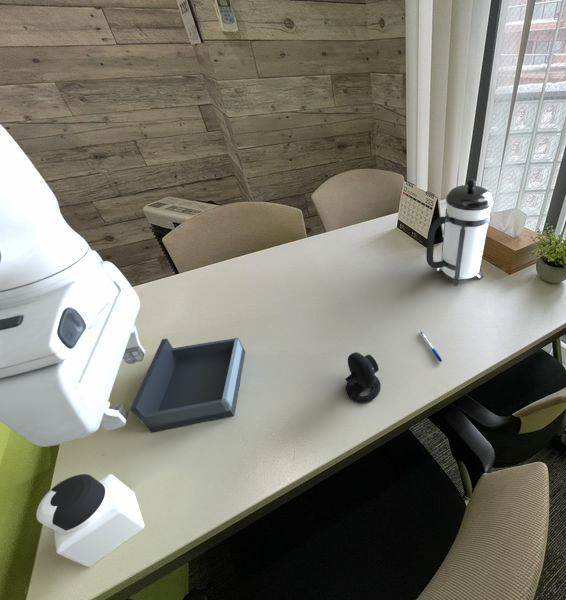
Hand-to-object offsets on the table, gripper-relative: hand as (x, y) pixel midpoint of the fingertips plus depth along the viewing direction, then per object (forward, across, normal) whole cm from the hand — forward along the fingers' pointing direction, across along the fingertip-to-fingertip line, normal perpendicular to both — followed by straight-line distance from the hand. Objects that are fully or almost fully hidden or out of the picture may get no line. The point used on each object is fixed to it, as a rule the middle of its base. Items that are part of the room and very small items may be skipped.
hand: (128, 387), depth 37 cm
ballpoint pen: (+27, -15, +48) cm, 57 cm away
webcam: (+28, -9, +29) cm, 41 cm away
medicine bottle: (+27, 0, -14) cm, 31 cm away
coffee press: (+28, -40, +70) cm, 85 cm away
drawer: (+27, -23, -3) cm, 36 cm away
